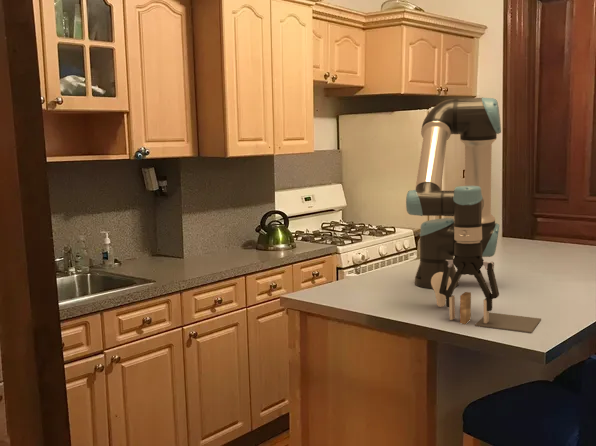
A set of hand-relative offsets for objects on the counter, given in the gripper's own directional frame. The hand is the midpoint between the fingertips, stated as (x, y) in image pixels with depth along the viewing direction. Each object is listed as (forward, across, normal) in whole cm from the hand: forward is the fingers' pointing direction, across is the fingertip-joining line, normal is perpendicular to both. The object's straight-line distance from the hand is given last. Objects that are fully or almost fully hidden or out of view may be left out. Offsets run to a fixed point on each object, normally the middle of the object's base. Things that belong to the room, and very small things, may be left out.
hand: (469, 320), depth 180 cm
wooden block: (+1, -1, 0) cm, 1 cm away
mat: (+1, +10, +4) cm, 11 cm away
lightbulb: (0, -12, +12) cm, 17 cm away
